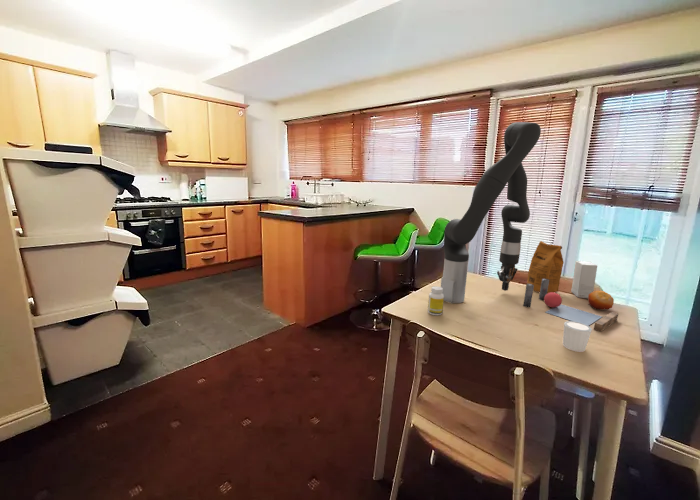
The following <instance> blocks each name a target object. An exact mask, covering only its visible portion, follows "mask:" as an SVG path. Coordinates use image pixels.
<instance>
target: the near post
mask: <svg viewBox="0 0 700 500" xmlns="http://www.w3.org/2000/svg"><path fill="white" fill-rule="evenodd" d="M533 289H534V285H533V284H527V283H526V285H525V293H524V298H523V304H522V306H523V307H525V308H531V306H532V302H533V301H532V300H533V295H534V294H533V293H534V290H533Z"/></svg>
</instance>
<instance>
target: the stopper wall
mask: <svg viewBox="0 0 700 500" xmlns="http://www.w3.org/2000/svg"><path fill="white" fill-rule="evenodd" d="M618 317H619V314H618V313H616V312H613V311H611V312H609V313H608V314H606V315H604V316H602V318H600V319H599V320H597V321H596V322H594V326H593V331H597V332H602V331H604V330H605V329H607V328H608V327H609V325H610V326H611V325H612V324H614V323H615V322H617V321H618ZM616 320H617V321H616ZM613 322H614V323H613Z"/></svg>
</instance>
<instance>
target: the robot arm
mask: <svg viewBox="0 0 700 500" xmlns="http://www.w3.org/2000/svg"><path fill="white" fill-rule="evenodd" d="M541 132H542V129H541V126H540V125H539V123H536V122H529V121H526V122H525V121H522V122H521V121H519V122H518V121H516V122H512V123H510V124H509V125H508V126H507V127H506V129H505V131H504V135H503V136H504V137H503V138H504V139H503V141H504V142H503V144H504V151H505V155H504V156H503V157H502V158H500V159H499V160H498V161H497V162H495V163H493V164H492V165H491V166H490V167H488V169H486V170H485V172H483V174H482V175H481V177H480V179H479V181H478V182H477V183H476V185H475V188H474V190H473V193H472V197H471V198H472V199H471V201H470V205H469V207H468V209H467V210H466V212H465V214H464V215H463V216H462V218H454V219H451V220H450V221H449V222H447V224H446V225H445V228H444V234H443V237H444V238H443V251H444V252H443V253H444V262H443V271H442V277H440V278H441V279H440V287H441V288H443V292H442V294H443V295H444V301H443V302H447V303H449V304H460V303H464V301H465V296H466V295H465V294H466V287H467V286H466V285H467V279H468V278H467V275H468V268H469V258H470V254H469V252H468V250H467V245H468V244H469V243H470V242H472V240H473V239H474V237H476V235H477V232H478V231H479V228H480V227H481V225H482V223H483V221H484V219H485V217H486V216H487V214H488V213H489V211H490V210H491V208H492V207H493V205H494V204H495V202H496V200H497V199H498V197H499V196H500V195H501V194H502V192H503V191H504V189H505V187H506V186H507V187H506V188H507V192H506V198H507V200H508V201H509V202H513V203H516V205H515V204H507V205H504V206H503V208H502V209H501V215H500V216H501V221H502V225H503V226H502V227H503V228H502V229H503V234H502V241H501V245H500V253H499V260H498V261H499V262H500V263H501V266H500V270H497V271H496V273H497V277H498V279H499V281H500V282H502V283H501V284H502V285H501V291H504V292H505V291H509V289H510V288H509V287H510V283H511V281H513V279H514V278H515V275H516V274H517V272H518V268H517V267H516V265H518V264H519V261H520V255H521V247H522V246H521V244H522V236H523V230H522V229H521V228H519V227H517V226H516V227H515V226H514V225H512V223H519V224H520V223H521V224H524V223H526V222H528V220H529V219H530V215H531V212H530V207H529V203H528V198H527V193H528V176H527V172H526V170H525V168H524V165H523V163H522V162H523V161H524V160H525V159H526V158H527V156H528V154H529V153H531V151H532V150H533V149H534V147H535V146H536V145H537V143H538V142H539V139H540V137H541Z"/></svg>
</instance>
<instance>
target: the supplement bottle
mask: <svg viewBox="0 0 700 500" xmlns="http://www.w3.org/2000/svg"><path fill="white" fill-rule="evenodd" d="M430 291H431V292H429V293H428V301H427V303H428V304H427V313H428V314H429V313H430V314H429V315H432V316H441V315H442V314H443V311H444V310H443V309H444V302H445V301H444V295H443V294H442V292H443V288H441V286H431V289H430Z"/></svg>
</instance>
